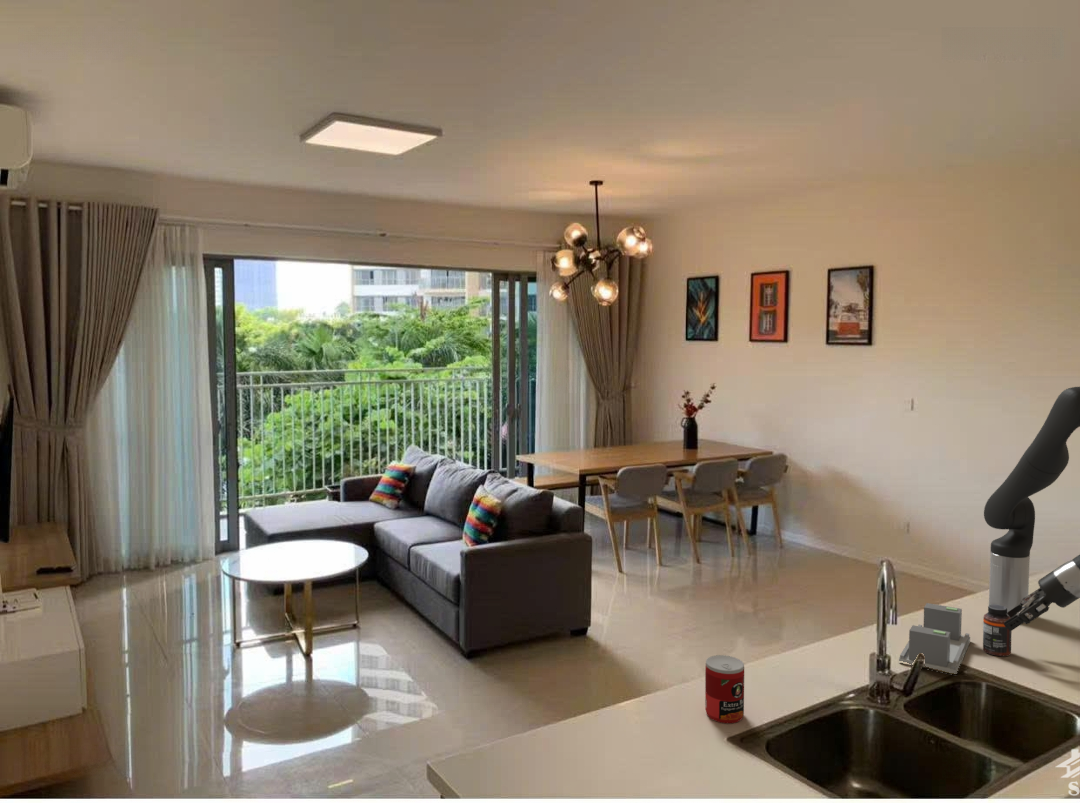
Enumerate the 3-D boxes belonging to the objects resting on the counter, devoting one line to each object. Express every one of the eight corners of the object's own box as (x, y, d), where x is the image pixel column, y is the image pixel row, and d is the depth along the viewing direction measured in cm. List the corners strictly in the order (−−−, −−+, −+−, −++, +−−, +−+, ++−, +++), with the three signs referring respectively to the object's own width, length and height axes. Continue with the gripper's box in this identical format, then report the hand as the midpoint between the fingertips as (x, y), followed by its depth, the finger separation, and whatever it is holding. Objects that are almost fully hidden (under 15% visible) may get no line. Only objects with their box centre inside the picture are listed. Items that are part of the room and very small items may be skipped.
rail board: (917, 631, 203) (918, 599, 202) (970, 641, 196) (971, 608, 195) (898, 663, 183) (899, 627, 183) (956, 675, 176) (957, 638, 176)
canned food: (722, 727, 154) (723, 673, 153) (697, 711, 161) (697, 659, 160) (752, 718, 157) (753, 665, 156) (725, 702, 164) (726, 652, 163)
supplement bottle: (1003, 648, 192) (1005, 603, 191) (1015, 657, 186) (1017, 611, 185) (978, 647, 192) (979, 602, 191) (989, 657, 186) (991, 610, 185)
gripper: (1055, 562, 187) (998, 601, 194) (1053, 577, 175) (992, 617, 183) (1081, 588, 184) (1023, 626, 192) (1080, 605, 173) (1018, 644, 180)
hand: (1008, 621), depth 187 cm, fingers open, 8 cm apart
